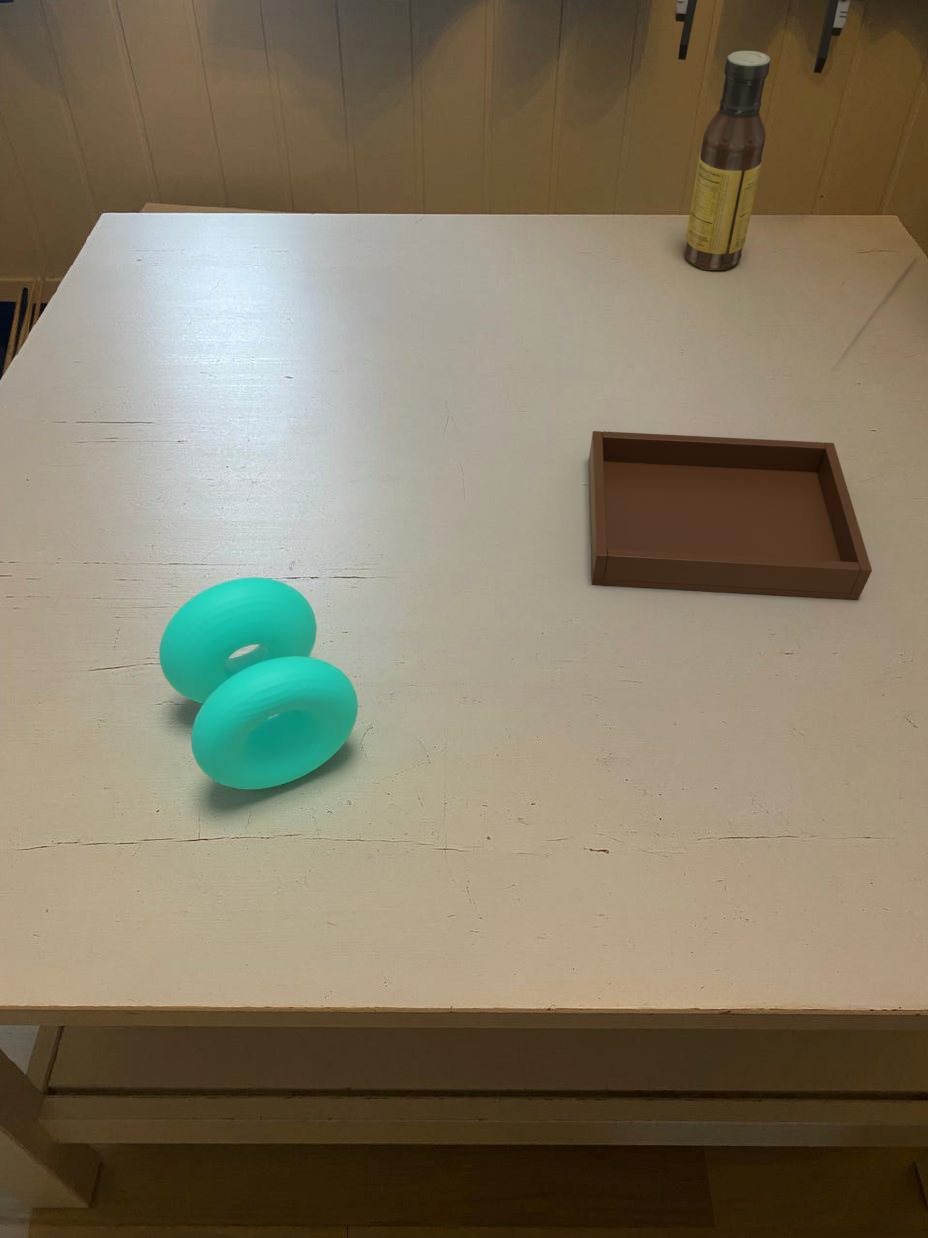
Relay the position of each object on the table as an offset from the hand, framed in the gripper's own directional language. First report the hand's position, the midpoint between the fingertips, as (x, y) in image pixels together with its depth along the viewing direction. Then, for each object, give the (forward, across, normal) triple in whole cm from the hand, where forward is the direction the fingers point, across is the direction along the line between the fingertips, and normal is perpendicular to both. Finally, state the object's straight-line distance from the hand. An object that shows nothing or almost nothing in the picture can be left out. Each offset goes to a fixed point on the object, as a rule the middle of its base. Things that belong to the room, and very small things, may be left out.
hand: (750, 59), depth 95 cm
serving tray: (+48, -4, +24) cm, 54 cm away
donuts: (+67, +23, +43) cm, 83 cm away
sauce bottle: (+18, 0, -7) cm, 19 cm away
